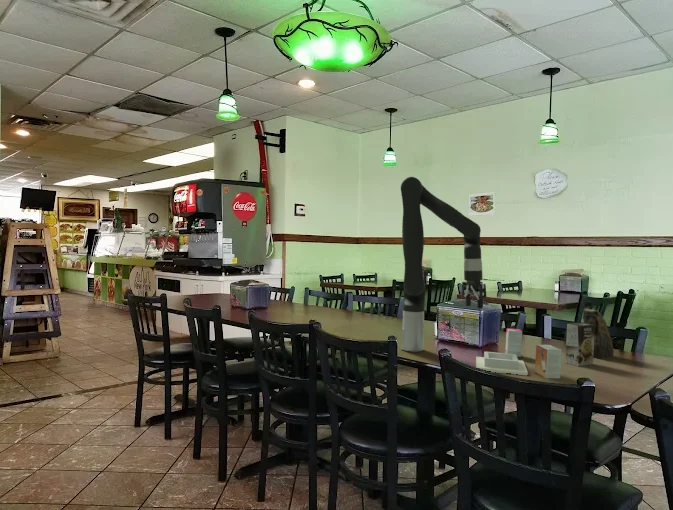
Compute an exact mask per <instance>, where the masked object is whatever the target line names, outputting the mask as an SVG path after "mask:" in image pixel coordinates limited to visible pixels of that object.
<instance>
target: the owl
mask: <svg viewBox="0 0 673 510" xmlns="http://www.w3.org/2000/svg"><path fill="white" fill-rule="evenodd" d="M582 312H583V316H582V320H583V323H586V324H593V325H595V330H594V353H593V359H599V360H602V359H607V358H612V357H614V346H613V345H614V344H613V341H612V337H611V335H610V332H609V328H608V326H607V321H606V320H605V318H604V317H603V315H602V314H601V313H600V311H598V310H595V309H592V308H591V309H590V308H588V307H586V308H584V309H583V310H582Z"/></svg>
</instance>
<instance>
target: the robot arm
mask: <svg viewBox="0 0 673 510" xmlns="http://www.w3.org/2000/svg"><path fill="white" fill-rule="evenodd" d="M400 192H401V193H400V194H401V195H400V196H401V201H402V209H403V210H402V222H401V225H402V226H401V228H402V229H401V230H402V232H401V234H402V235H401V236H402V253H403V260H404V276H403V286H402V287H403V302H402V303H403V304H402V327H401V339H400V341H401V343H400V344H401V345H400V350H402V351H407V352H417V353H418V352H422V351H423V350H424V334H425V333H424V332H425V331H424V330H425V329H424V328H425V305H426V304H425V302H426V301H425V300H426V281H425V278H424V273H423V257H424V247H425V237H424V235H425V233H424V225H423V217H422V212H421V205H422V206H423V207H424V208H426V209H428V211H430V212H431V213H433V215H435V217H437V218H439V219H440V220H442V221H443V222H444V223H445V224H447V225H448V226H450V227H451V228H454V229H455V230H457V231H458V232H459V233H461V234H462V235H463V242H464V243H463V245H464V247H463V276H464V277H463V280H464V281H462V282H461V296H464V299H465V306H467V307H471V306H472V297H471V296H472V294H474V296H475V297H476V300H477V301H476V303H477V306H476V307H477V309H483V308H484V299H487V286H486V283H481V282H482V281H483V279H484V278H483V262H482V249H481V231H482V230H481V226H480V225H479V224H478V223H476V222H475V221H474V220H472V219H470V218H469V217H467V216H465V215H464V214H463V213H462V212H461V211H459V210H458V209H456V208H455V207H453V206H452V205H451V204H449V203H447V202H445V201H444V200H442V199H440V198H439V197H437V196H436V195H434V194H433V193H432V192H430V191H429V190H428V189H427V188H426V187H425V186H424V185H423V184H422V182H421V181H420V179H419V178H417V177H415V176H407V177H406V178H404V180H403V181H402V182H401V184H400Z"/></svg>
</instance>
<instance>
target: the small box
mask: <svg viewBox="0 0 673 510" xmlns="http://www.w3.org/2000/svg"><path fill="white" fill-rule="evenodd" d="M535 346H536V347H535V361H534V363H535V364H534V365H535V366H534V373H537V374H538V375H540V376H542V378H544V379H561V371H562V369H561V368H562V367H561V366H562V351H563V350H562V349H561V348H558V347H555V346H554V345H551V344H536V345H535Z"/></svg>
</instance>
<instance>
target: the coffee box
mask: <svg viewBox="0 0 673 510" xmlns="http://www.w3.org/2000/svg"><path fill="white" fill-rule="evenodd" d="M566 325H567V326H566V342H565V344H566V345H565V364H569V365H573V366H576V367H582V366H583V367H584V366H590V365H594V358H593V353H594V330H595V325H593V324H586V323H584V322H572V323H567V324H566Z"/></svg>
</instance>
